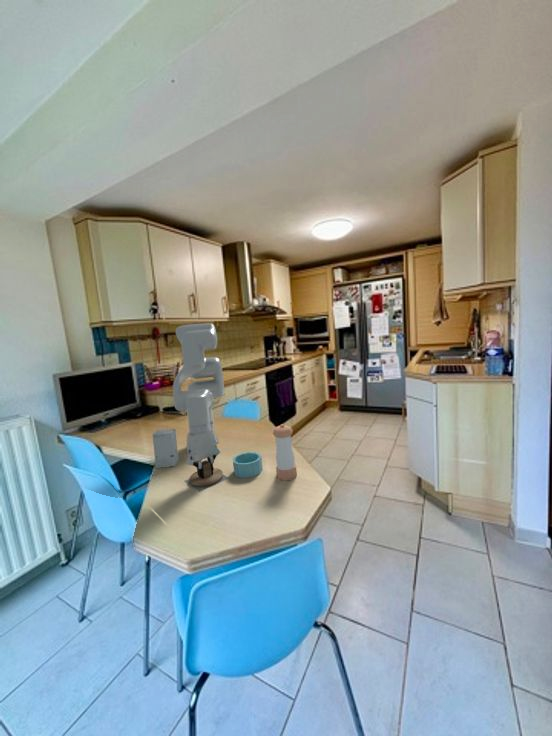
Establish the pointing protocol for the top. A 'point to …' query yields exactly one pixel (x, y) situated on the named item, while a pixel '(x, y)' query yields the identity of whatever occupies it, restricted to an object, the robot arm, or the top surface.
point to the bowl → (247, 464)
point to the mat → (206, 486)
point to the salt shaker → (284, 453)
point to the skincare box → (165, 448)
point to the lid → (206, 476)
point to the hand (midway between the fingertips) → (206, 474)
